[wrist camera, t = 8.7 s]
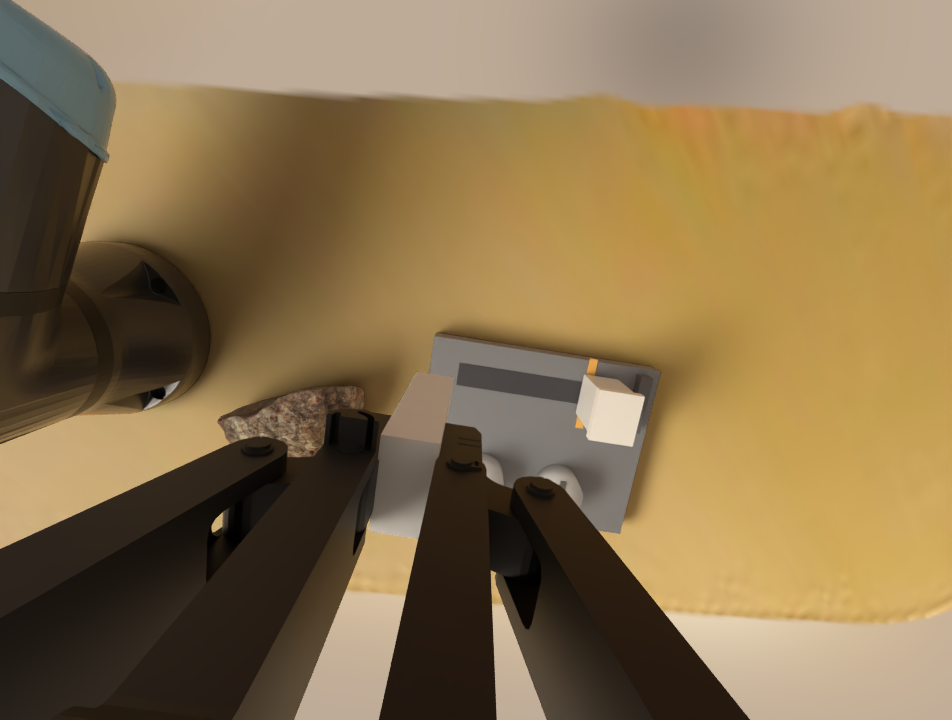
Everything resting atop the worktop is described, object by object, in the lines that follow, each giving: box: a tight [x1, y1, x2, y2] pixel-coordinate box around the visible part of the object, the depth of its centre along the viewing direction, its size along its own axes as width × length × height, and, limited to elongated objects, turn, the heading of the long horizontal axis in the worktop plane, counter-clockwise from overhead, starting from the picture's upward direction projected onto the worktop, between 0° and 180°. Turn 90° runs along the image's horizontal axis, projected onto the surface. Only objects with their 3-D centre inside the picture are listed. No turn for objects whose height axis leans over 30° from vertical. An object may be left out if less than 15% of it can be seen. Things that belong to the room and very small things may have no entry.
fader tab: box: [576, 374, 645, 447], centre depth 36 cm, size 3×4×6 cm
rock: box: [217, 385, 364, 457], centre depth 38 cm, size 14×9×10 cm
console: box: [429, 333, 661, 534], centre depth 39 cm, size 20×16×4 cm
